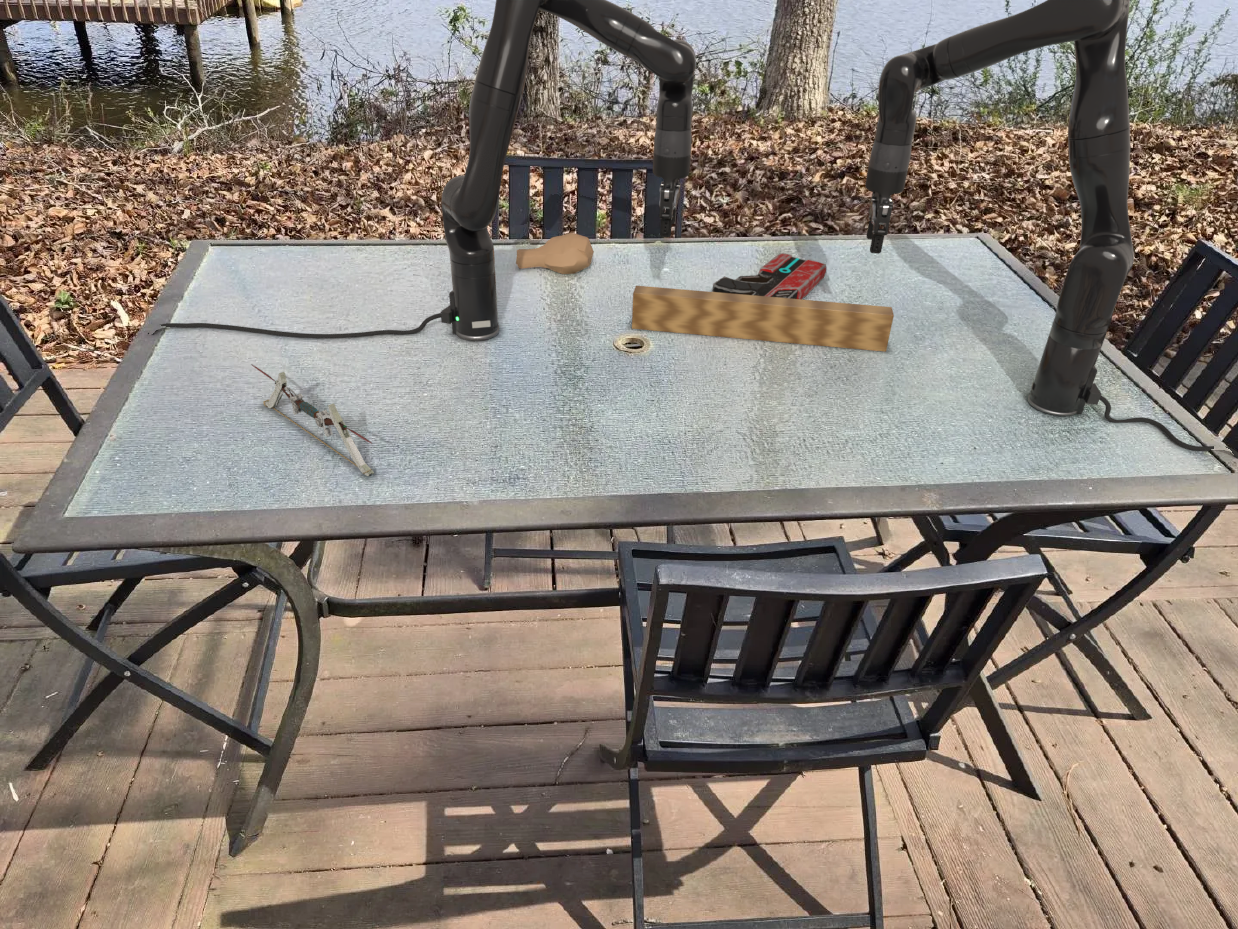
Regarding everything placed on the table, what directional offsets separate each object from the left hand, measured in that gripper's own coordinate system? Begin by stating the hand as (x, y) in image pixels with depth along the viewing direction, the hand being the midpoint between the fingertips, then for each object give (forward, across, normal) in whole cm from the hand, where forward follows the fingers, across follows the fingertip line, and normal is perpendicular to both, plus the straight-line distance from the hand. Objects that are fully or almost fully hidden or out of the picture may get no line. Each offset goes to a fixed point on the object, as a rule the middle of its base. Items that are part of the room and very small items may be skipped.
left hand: (667, 229), depth 185 cm
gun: (+22, +26, -24) cm, 42 cm away
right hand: (0, 0, -42) cm, 42 cm away
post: (+22, 0, -21) cm, 31 cm away
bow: (+22, -59, +55) cm, 84 cm away
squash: (+22, +29, +31) cm, 48 cm away
